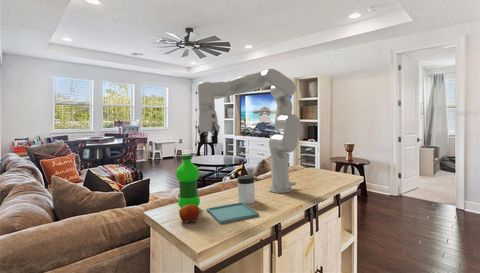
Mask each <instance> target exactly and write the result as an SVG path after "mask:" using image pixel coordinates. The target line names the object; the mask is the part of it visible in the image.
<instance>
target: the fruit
mask: <svg viewBox="0 0 480 273" xmlns="http://www.w3.org/2000/svg"><path fill="white" fill-rule="evenodd" d="M200 210H201V209H200V207H199V205H198V206H197V205H194V204H188V205H185V206H183V207H182V208H179V210H178V211H179V213H178V214H179V215H178V216H179V217H180V221H182V223H185V224H187V225H188V224H189V223H191V222H192V223H194V222H195V223H197V220H198V218H199V215H200Z"/></svg>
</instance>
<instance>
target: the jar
mask: <svg viewBox="0 0 480 273" xmlns="http://www.w3.org/2000/svg"><path fill="white" fill-rule="evenodd" d="M255 189H256V188H255V176H253V175H248V174H247V175H240V176H237V194H238V195H237V197H238V199H237V200H238V203H240V202H242V203H244V204H245V205H247V204H248V205H249V204H252V203H255V202H256V195H255V194H256V193H255Z"/></svg>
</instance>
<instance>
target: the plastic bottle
mask: <svg viewBox="0 0 480 273" xmlns="http://www.w3.org/2000/svg"><path fill="white" fill-rule="evenodd" d="M192 159H193V157H192V154H183V155H181V160H182V161H183V163H182V164H181V165H179V167H178V168H176V171H175V177H176V178H175V179H177V180H178V185H179V197H178V200H177V204H178V206H179V209H181V208H182V207H183V206H185V205H188V204H194V205H197V206H198V207H199V205H200V203H201V199H200V197H199V193H198V179H199V178H200V170H199V168H198V167H197V166H196V165H195V164H194V163H192V161H191V160H192Z"/></svg>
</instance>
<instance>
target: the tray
mask: <svg viewBox="0 0 480 273" xmlns="http://www.w3.org/2000/svg"><path fill="white" fill-rule="evenodd" d="M206 212H207V213H208V214H209V215H211V216H212V218H214V220H215V221H216V222H217V223H218V224H219V225H222V224H226V223H232V222H237V221H241V220H246V219H250V218H257V217H259V216H260V214H259V212H258V211H256V210H254V209H253V208H251V207H250V206H248V205H247V204H245V203H242V202H240V203H239V202H237V203H236V202H234V203H230V204H224V205H219V206H212V207H207V208H206ZM256 216H257V217H256Z"/></svg>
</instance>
